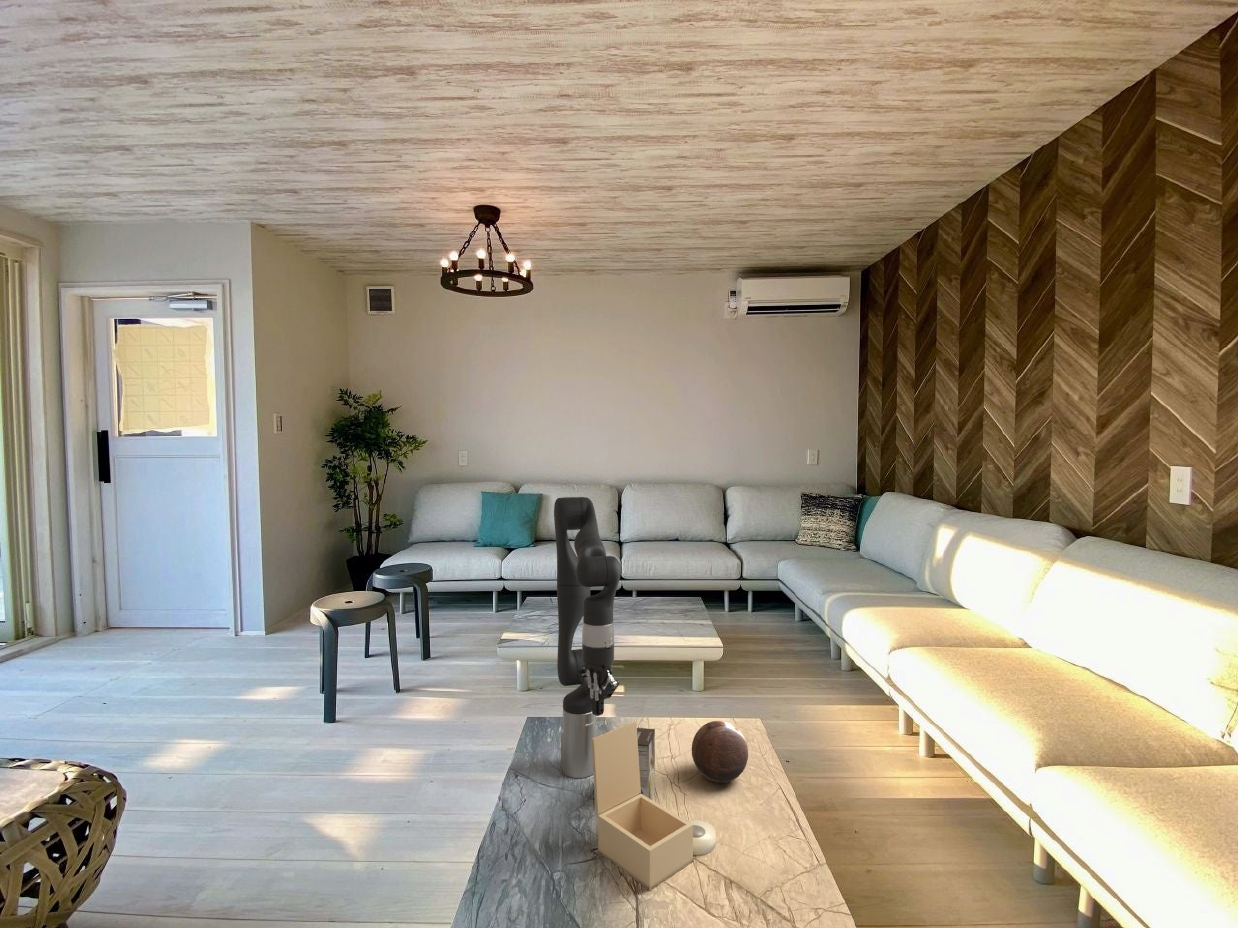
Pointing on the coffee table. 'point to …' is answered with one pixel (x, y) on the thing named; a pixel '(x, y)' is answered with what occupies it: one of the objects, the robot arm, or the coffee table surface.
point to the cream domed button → (703, 837)
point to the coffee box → (646, 761)
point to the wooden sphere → (719, 751)
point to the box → (645, 840)
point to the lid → (616, 767)
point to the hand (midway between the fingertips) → (597, 714)
